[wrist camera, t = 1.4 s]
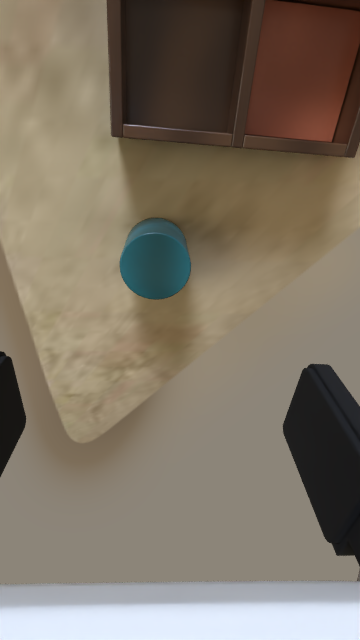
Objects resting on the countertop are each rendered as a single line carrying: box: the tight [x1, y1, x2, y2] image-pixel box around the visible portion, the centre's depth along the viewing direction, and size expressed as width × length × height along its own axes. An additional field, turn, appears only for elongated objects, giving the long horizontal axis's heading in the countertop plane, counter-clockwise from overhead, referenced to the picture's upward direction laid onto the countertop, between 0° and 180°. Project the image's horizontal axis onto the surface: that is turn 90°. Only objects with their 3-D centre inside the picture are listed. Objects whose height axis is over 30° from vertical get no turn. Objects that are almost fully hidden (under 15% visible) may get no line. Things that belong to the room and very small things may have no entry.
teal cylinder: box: [120, 218, 191, 299], centre depth 20 cm, size 4×4×4 cm
